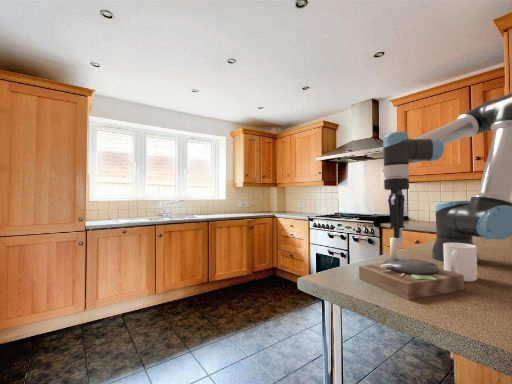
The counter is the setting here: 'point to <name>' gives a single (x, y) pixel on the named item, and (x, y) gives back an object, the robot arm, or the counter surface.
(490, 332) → the counter surface
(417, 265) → the gray pegged oval disc
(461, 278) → the board
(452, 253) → the mug
